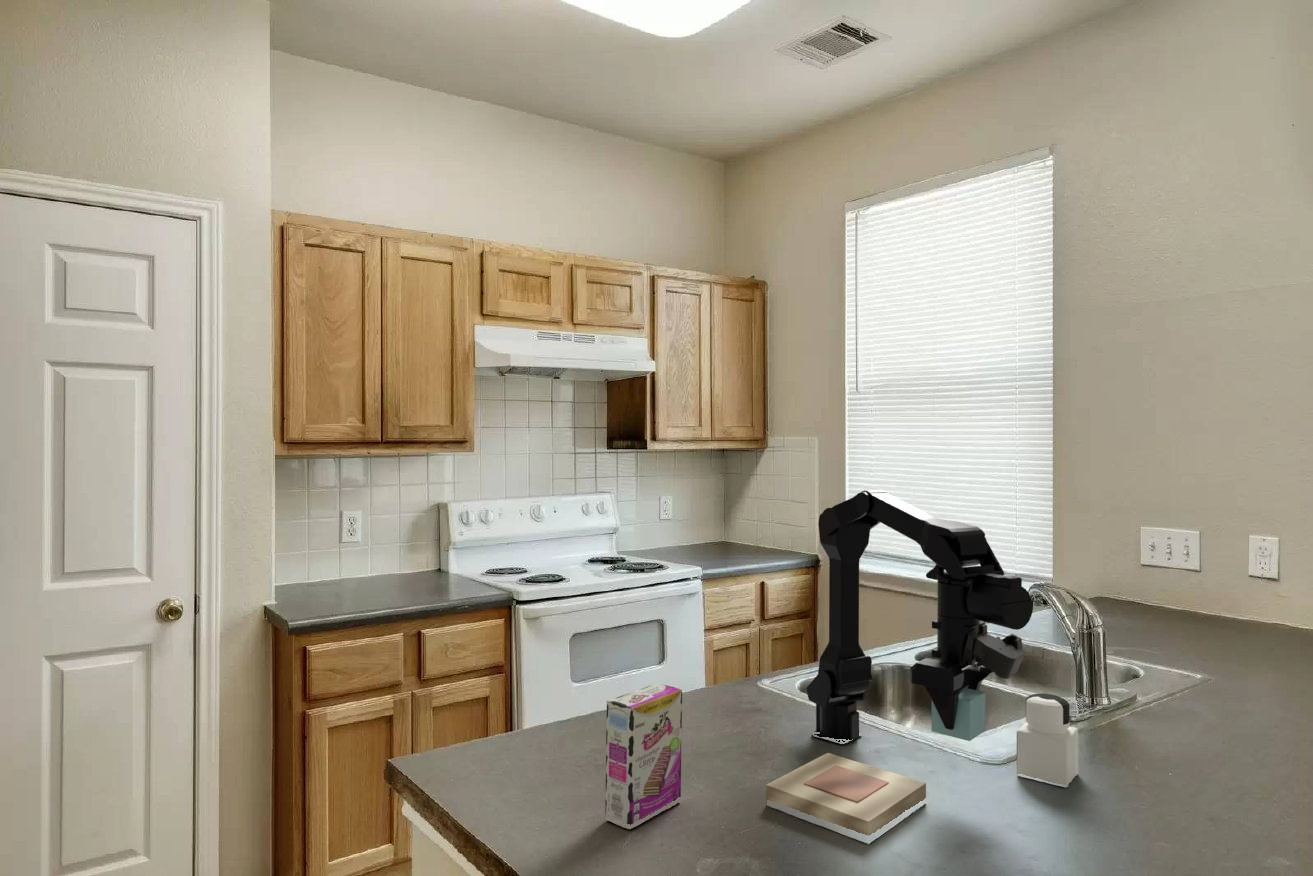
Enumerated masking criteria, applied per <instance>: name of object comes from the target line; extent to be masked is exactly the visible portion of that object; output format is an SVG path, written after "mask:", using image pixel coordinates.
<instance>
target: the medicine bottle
mask: <svg viewBox="0 0 1313 876" xmlns="http://www.w3.org/2000/svg"><path fill="white" fill-rule="evenodd" d="M1070 706H1071V705H1070V703H1069V702H1068V700H1066V699H1065V698H1063V697H1061V696H1059V695H1056V694H1051V693H1043V692H1042V693H1041V692H1040V693H1033V694H1030V695H1028V696H1027V697H1026V698H1025V722H1024V724H1023V725H1022V726H1020V727H1019V728H1018V730H1016V775H1017V774H1023V775H1026V776H1030V777H1033V778H1039V779H1042V780H1045V781H1048V782H1052V783H1057V784H1062V785H1066V786H1067V785H1068V784H1069V783H1070V782H1071V781H1072V779H1073V778H1074V777H1075V776H1076V777H1077V775H1078V774H1079V729H1078V728H1077V727H1074V726H1070V712H1071V711H1070ZM1076 774H1077V775H1076ZM1076 777H1075V778H1076ZM1075 778H1074V779H1075ZM1072 782H1073V781H1072ZM1072 782H1071V783H1072Z"/></svg>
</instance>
